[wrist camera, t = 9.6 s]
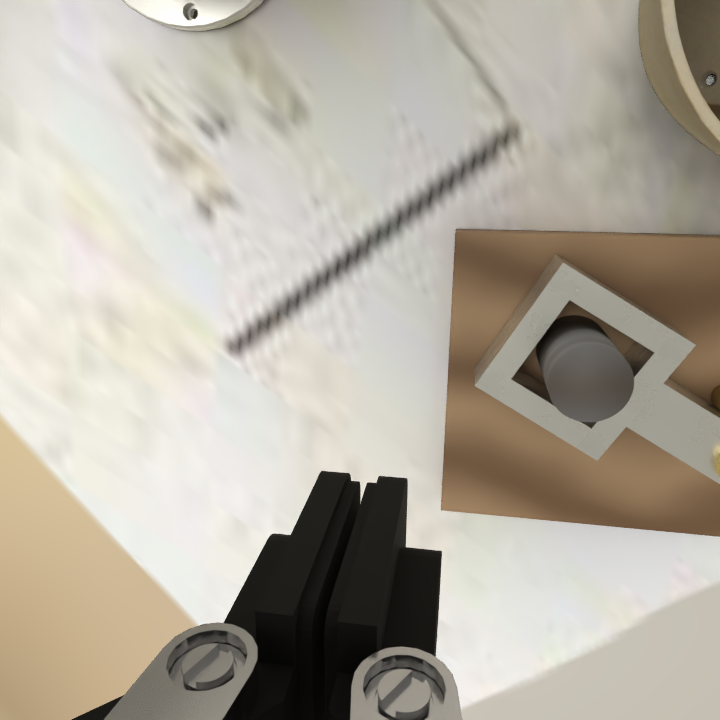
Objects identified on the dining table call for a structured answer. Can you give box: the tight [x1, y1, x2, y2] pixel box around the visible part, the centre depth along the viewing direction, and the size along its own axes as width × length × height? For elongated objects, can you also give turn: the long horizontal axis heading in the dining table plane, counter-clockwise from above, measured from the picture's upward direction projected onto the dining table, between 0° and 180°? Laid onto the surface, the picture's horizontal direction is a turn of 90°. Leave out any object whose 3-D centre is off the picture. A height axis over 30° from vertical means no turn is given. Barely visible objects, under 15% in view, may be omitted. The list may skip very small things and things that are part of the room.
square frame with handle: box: [474, 254, 720, 484], centre depth 34 cm, size 15×8×4 cm, turn 60°
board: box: [441, 229, 720, 537], centre depth 34 cm, size 18×18×8 cm
